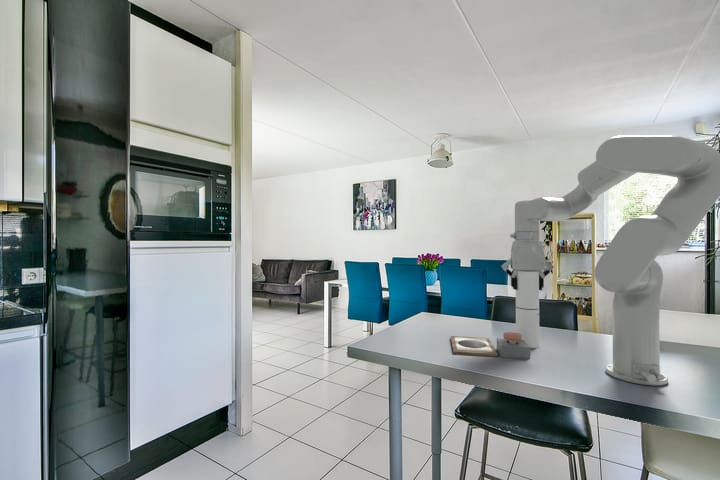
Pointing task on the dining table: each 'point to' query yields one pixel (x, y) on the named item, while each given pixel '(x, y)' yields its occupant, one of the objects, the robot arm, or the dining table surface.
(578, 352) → the dining table surface
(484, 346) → the sketch board
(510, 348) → the button housing
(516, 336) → the button
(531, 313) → the cylindrical container
